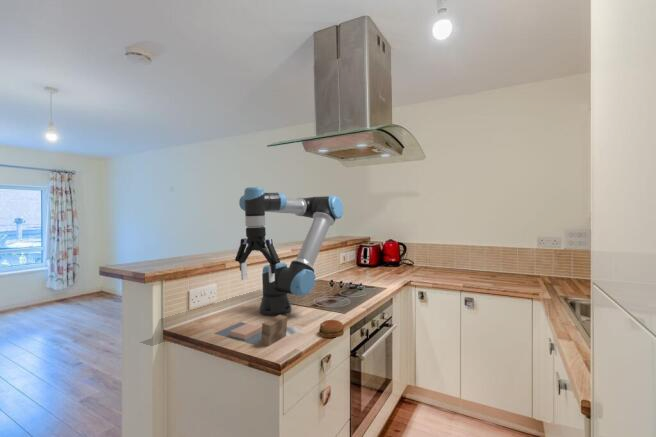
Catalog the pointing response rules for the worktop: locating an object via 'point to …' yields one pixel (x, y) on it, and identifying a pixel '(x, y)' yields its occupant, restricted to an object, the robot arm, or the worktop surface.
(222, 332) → the mat
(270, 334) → the brown wooden block
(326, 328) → the burger
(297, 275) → the robot arm
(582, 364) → the worktop surface
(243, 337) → the teal and beige block
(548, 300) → the worktop surface
